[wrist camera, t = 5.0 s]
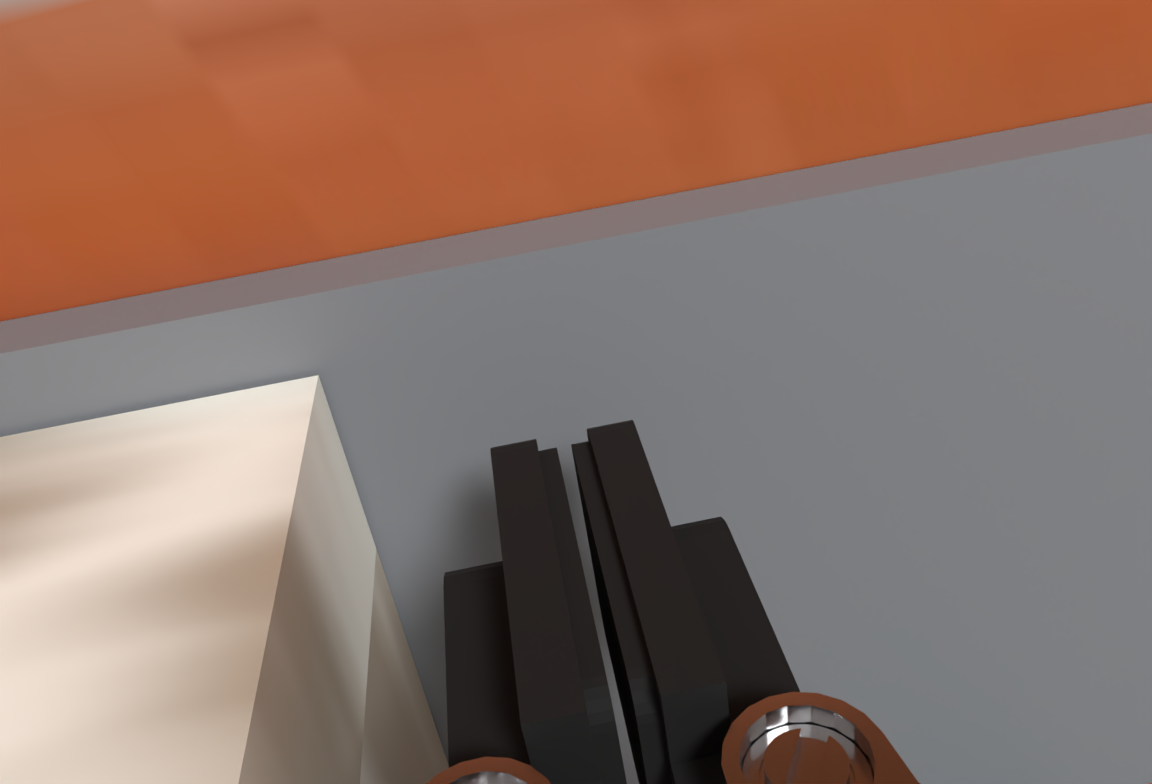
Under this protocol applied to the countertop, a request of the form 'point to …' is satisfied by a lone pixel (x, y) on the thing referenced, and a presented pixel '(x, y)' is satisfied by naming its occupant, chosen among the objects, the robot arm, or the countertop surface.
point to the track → (757, 417)
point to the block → (200, 604)
